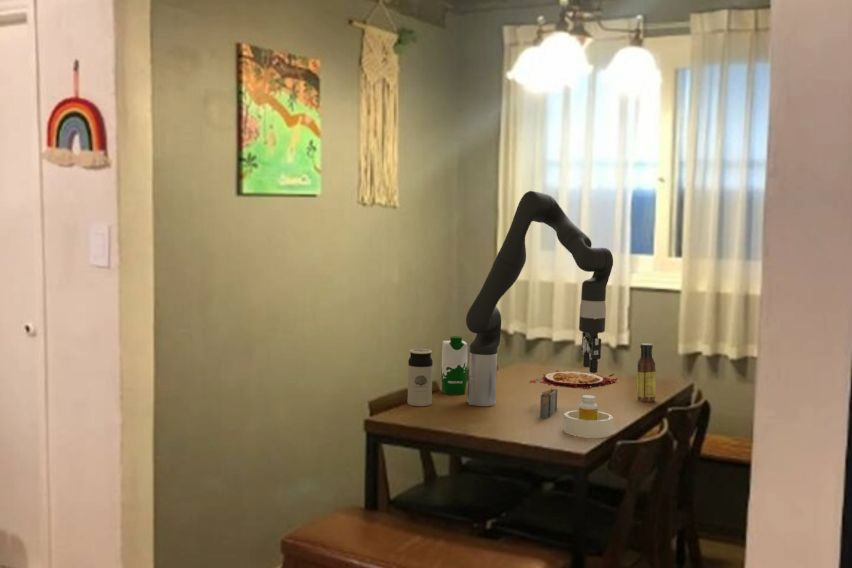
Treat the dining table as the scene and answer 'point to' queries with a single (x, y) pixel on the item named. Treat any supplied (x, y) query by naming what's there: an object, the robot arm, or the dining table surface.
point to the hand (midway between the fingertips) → (589, 369)
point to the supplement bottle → (588, 408)
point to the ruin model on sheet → (548, 403)
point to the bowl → (588, 425)
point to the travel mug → (420, 377)
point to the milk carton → (454, 366)
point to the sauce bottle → (646, 375)
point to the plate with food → (575, 379)
